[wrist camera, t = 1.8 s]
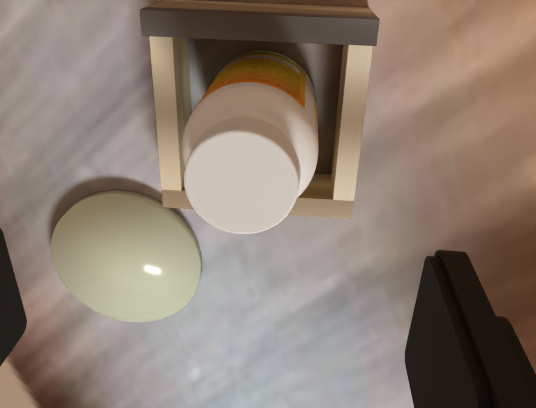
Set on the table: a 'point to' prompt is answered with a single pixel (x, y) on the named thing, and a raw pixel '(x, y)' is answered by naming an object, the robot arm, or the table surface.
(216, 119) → the supplement bottle
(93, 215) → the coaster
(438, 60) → the table surface
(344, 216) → the can holder
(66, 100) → the table surface
